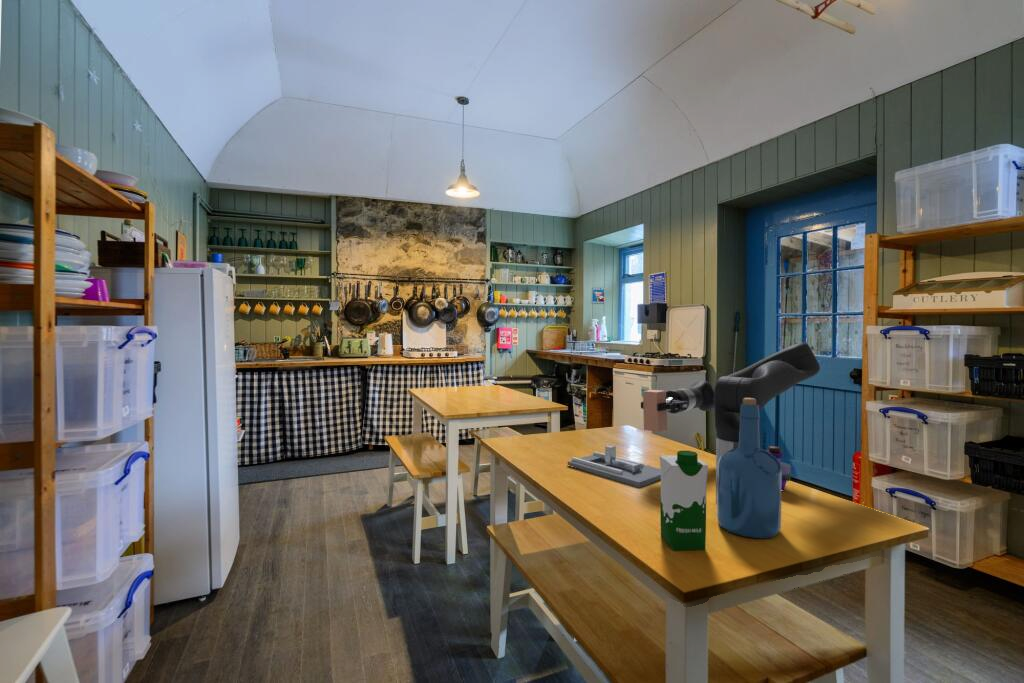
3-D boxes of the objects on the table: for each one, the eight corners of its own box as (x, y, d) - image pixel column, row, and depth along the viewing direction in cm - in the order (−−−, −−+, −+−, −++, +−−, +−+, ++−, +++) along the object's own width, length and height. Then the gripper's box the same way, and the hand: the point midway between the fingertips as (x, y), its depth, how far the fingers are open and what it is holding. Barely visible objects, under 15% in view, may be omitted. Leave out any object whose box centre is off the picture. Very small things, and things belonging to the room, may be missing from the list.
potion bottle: (798, 493, 133) (798, 450, 132) (766, 493, 133) (767, 450, 132) (781, 483, 141) (781, 443, 141) (751, 483, 141) (752, 443, 141)
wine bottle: (704, 523, 113) (705, 396, 112) (741, 512, 119) (743, 392, 118) (756, 546, 101) (758, 405, 100) (795, 534, 107) (797, 400, 106)
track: (598, 457, 170) (598, 450, 170) (669, 476, 148) (669, 468, 148) (567, 466, 159) (567, 458, 159) (639, 487, 138) (639, 478, 138)
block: (653, 427, 152) (651, 389, 152) (667, 429, 148) (666, 390, 148) (643, 429, 149) (642, 391, 149) (658, 431, 145) (656, 392, 145)
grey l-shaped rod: (611, 461, 158) (611, 444, 158) (641, 469, 149) (641, 451, 149) (604, 464, 155) (604, 446, 155) (634, 472, 146) (634, 453, 146)
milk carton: (669, 552, 98) (670, 456, 98) (655, 533, 107) (655, 445, 107) (711, 551, 99) (712, 455, 98) (693, 532, 108) (694, 444, 107)
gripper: (699, 414, 152) (670, 422, 141) (660, 409, 163) (630, 415, 152) (700, 391, 152) (670, 396, 141) (660, 387, 163) (630, 391, 152)
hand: (649, 406), depth 147 cm, fingers closed on block, 5 cm apart
